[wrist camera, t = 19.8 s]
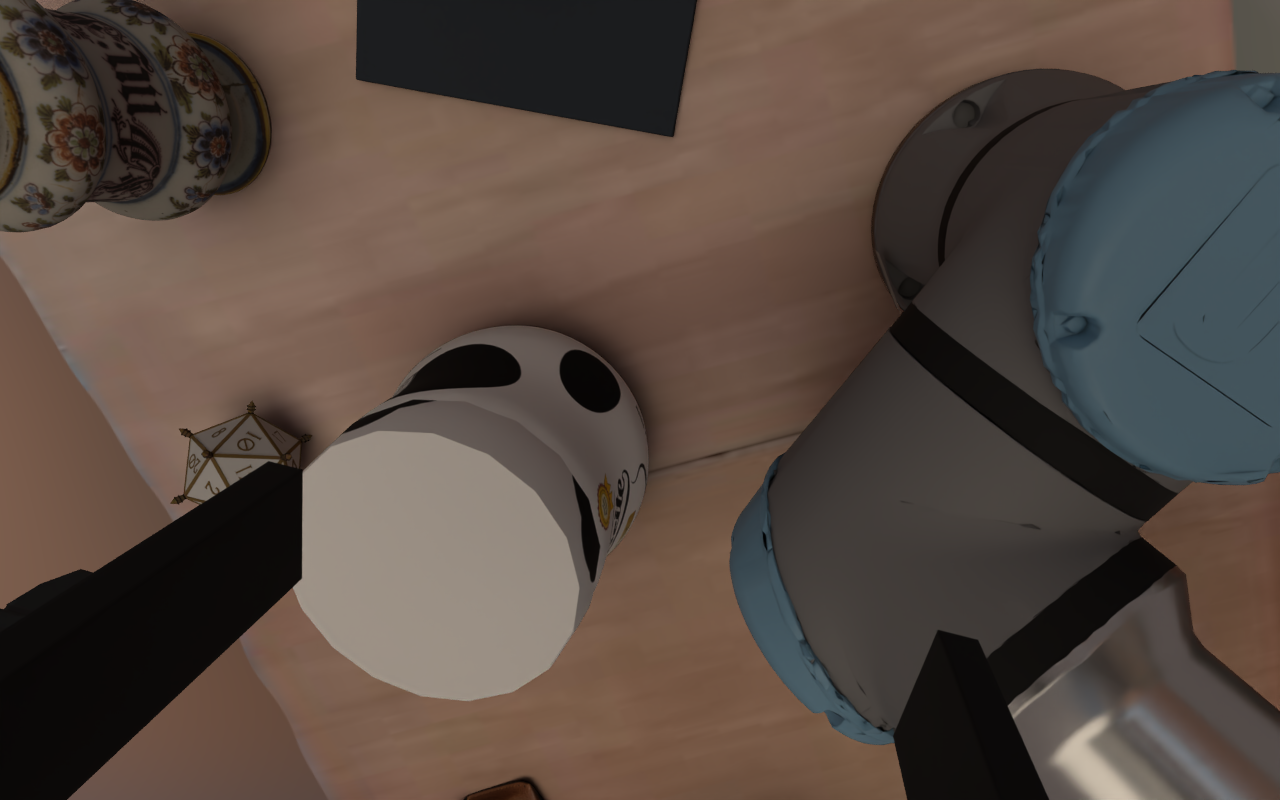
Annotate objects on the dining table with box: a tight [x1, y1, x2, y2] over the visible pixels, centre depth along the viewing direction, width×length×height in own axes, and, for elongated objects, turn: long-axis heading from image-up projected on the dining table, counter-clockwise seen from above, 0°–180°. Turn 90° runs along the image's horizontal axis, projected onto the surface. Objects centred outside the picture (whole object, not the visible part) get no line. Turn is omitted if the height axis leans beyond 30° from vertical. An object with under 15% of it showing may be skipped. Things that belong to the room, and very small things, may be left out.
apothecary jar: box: [0, 0, 271, 232], centre depth 38 cm, size 12×12×18 cm
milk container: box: [293, 325, 649, 701], centre depth 41 cm, size 17×17×18 cm
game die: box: [170, 401, 312, 505], centre depth 50 cm, size 9×8×10 cm
